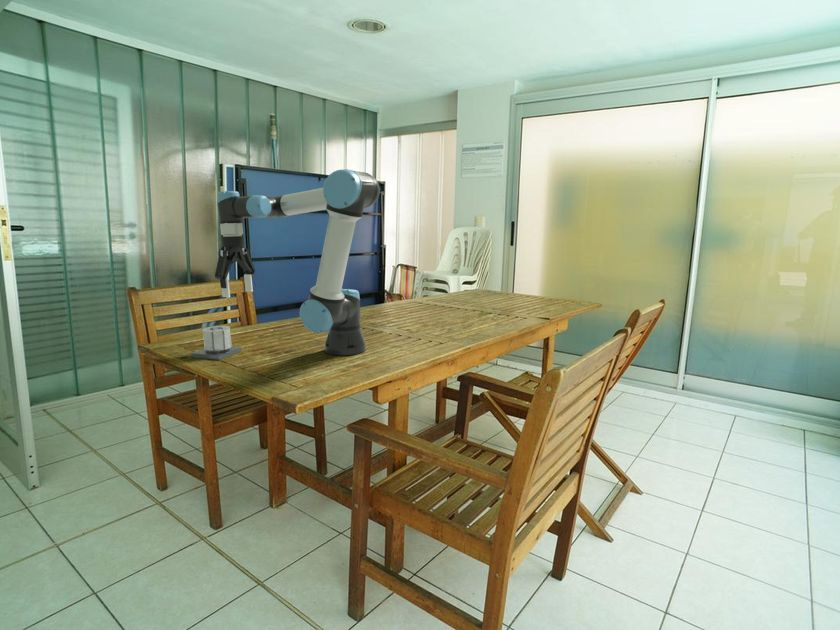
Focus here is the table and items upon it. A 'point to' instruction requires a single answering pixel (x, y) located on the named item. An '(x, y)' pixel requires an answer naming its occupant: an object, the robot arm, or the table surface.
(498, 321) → the table surface
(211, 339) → the ring
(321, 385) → the table surface
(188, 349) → the table surface
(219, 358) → the shaft block
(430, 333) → the table surface
